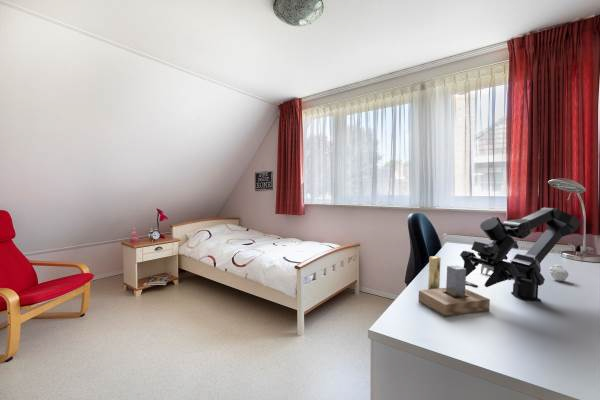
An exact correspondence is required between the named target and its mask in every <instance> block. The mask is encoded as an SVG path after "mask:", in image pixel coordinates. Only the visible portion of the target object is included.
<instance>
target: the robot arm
mask: <svg viewBox="0 0 600 400" xmlns="http://www.w3.org/2000/svg"><path fill="white" fill-rule="evenodd" d="M544 224H545V225H546V230H545V231H544V232H543V233H542V234H541V235H540V237H539V238H538V239H537V240H536V241H535V243H534V244H533V245H532V246H531V247H530V248H529V249H528V251H527V252H526V253H525V254H521V253H516V254H515V255H514V256H513V258H512V259H511V260H510V262H509V261H507V260H508V259H509V257H508V256H507V255H508V254H509V252H510V251H511V250H512V249H517V250H518V249H519V244H518V241H517V240H514V239H520V240H523V239H526V238H527V237H528V236H530V234H532V230H534V229H536V228H537V227H540V226H542V225H544ZM580 224H581V222H580V220H579V219H578V218H577V217H576V215H575V216H574V215H572V214H570V213H568V212H564V211H562V210H560V209H558V208H556V207H541V208H540V209H539V210H537V211H535V212H532V213H530V214H528V215H526V216H524V217H522V218H518V219H509V220H504V221H503V222H502V221H501V219H500V218H499V216H498V217H497V216H492V217H491V218H489V219H486V220H484V221H482V222H481V223H480V225H479V227H480V229H481V230H482V232H483V233H484V235H485V236H487V238H488V239H489V240H490V241H492V242H489V244H487V243H484V242H480V241H476V240H475V241H474V242H473V244H472V245H471V246H472V247H471V251H475V252H477V253H476V254H477V255H478V256H476V254H475V253H474V252H471V251H467V250H463V251H461V253H460V254H459V256H460V257H461V259H462V261H463V268H466V277H468V276H469V275H470V274H471V273H472V272H474V271H475V270H476V269H477V267H478V266H479V265H481V266H482V265H485V266H489V267H492V268H494V271H492V273H491V274H490V275H489V277H488V278H487V279H486V281H485V283H484V287H485V288H489V287H491V286H494V285H495V284H496V285H497V284H498V283H501V282H505V281H511V280H514V282H513V284H512V285H513V286H512V291H510V294H512V295H514V296H515V297H517V298H519V299H520V300H522V301H535V302H536V301H538V302H542V299H541V298H539V297H538V296H539V286H541V287H542V285H544V283H545V281H546V279H545V277H544V276H543V274H542V273H541V271H542V269H541V268H542V267H541V263H542V262H543V260H544V259H545V258H546V257H547V256H548V254H549V253H550V252H551V251H552V249H553V248H554V247H555V246H556V245H557V244H558V243H559V241H561V239H562V238H564V237H566V236H569V235H571V234H573V233H574V232H575V231H576V230H577V229H578V228H580Z"/></svg>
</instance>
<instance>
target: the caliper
mask: <svg viewBox="0 0 600 400" xmlns="http://www.w3.org/2000/svg"><path fill="white" fill-rule="evenodd" d="M485 269H486V270H485ZM484 270H485V273H484V274H485V275H488V273H489V272H493V271H494V268H492V267H489V266H485V265H482V264H481V266H480V274H483V272H484Z"/></svg>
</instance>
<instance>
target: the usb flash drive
mask: <svg viewBox="0 0 600 400" xmlns="http://www.w3.org/2000/svg"><path fill="white" fill-rule="evenodd" d="M465 285H467V286H469V287H473V288H478V287H479V285H477V284H475V283H473V282H470V281H467V280H466V284H465Z"/></svg>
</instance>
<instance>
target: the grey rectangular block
mask: <svg viewBox="0 0 600 400" xmlns="http://www.w3.org/2000/svg"><path fill="white" fill-rule="evenodd" d="M463 267H464V266H463ZM463 267H462V266H459V265H447V266H446V283H445V285H446V286H445V288H446V294H447V295H449V296H451V297H453V298H455V299H458V298H465V289H466V285H467V284H466V281H467V280H466V279H467V276H466V268H463Z"/></svg>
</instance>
